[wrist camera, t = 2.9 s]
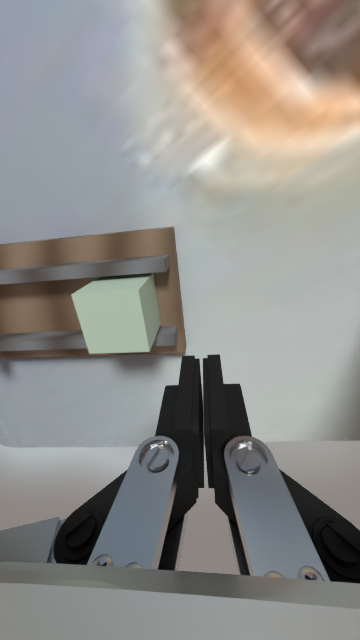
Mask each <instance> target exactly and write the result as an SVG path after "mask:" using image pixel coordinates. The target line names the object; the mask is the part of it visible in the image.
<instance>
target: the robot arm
mask: <svg viewBox="0 0 360 640" xmlns="http://www.w3.org/2000/svg"><path fill="white" fill-rule="evenodd" d="M203 403H204V436H203ZM204 437H205V449H206V461H207V474H208V485H209V488H214V490H215V503H216V504H217V505H218V506H219V507H220V509H221V510H222V511H223V512H224V513H225V514H226V517H227V523H228V528H229V533H230V538H231V542H232V547H233V552H234V556H235V561H236V566H237V571H238V575H231V574H217V573H202V572H187V571H178V570H179V564H180V558H181V552H182V547H183V541H184V535H185V529H186V523H187V516H188V511H189V510H190V509H191V507H192V506H193V505H194V504H195V503H196V498H198V488H204ZM0 640H360V531H359V530H358V529H357V528H356V527H355V526H354V525H353V524H352V523H350V522H349V521H348V520H346V519H345V518H344V517H342V516H341V515H340V514H338V513H337V512H336V511H334V510H333V509H332V508H330V507H329V506H328V505H326V504H325V503H324V502H322V501H321V500H320V499H318V498H317V497H316V496H314V495H313V494H312V493H310V492H309V491H308V490H306V489H305V488H304V487H302V486H301V485H300V484H298V483H297V482H296V481H294V480H293V479H292V478H290V477H289V476H288V475H286V474H285V473H284V472H282V471H281V470H280V469H279V468H278V466H277V464H276V462H275V460H274V457H273V455H272V453H271V452H270V450H269V449H268V447H267V446H266V445H265V444H264V443H263V442H262V441H260V440H258V439H256V438H254V437H252V435H251V430H250V426H249V422H248V417H247V413H246V408H245V404H244V399H243V395H242V391H241V386H240V384H223V377H222V369H221V361H220V355H208V358H203V399H202V386H201V374H200V361H199V359H195V356H182V362H181V370H180V378H179V385H172V386H166V387H165V391H164V396H163V400H162V405H161V410H160V415H159V420H158V425H157V430H156V435H155V437H151V438H149V439H147V440H145V441H144V442H143V443H142V444H141V445H140V446H139V447H138V449H137V450H136V452H135V454H134V457H133V459H132V461H131V464H130V466H129V468H128V470H126V471H125V472H124V473H123V474H121V475H120V476H119V477H118V478H116V479H115V480H114V481H113V482H111V483H110V484H109V485H107V486H106V487H105V488H104V489H102V490H101V491H100V492H98V493H97V494H96V495H95V496H93V497H92V498H91V499H89V500H88V501H87V502H86V503H84V504H83V505H82V506H80V507H79V508H78V509H77V510H75V511H74V512H73V513H72V514H71V515H70V516H69V517H68V518H67V519H63V520H60V518H59V517H56V518H52V519H48V520H43V521H39V522H36V523H31V524H27V525H22V526H18V527H14V528H10V529H5V530H1V531H0Z"/></svg>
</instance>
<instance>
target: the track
mask: <svg viewBox="0 0 360 640" xmlns="http://www.w3.org/2000/svg"><path fill="white" fill-rule="evenodd" d="M143 273H153V274H154V280H155V287H156V294H157V300H158V307H159V314H160V321H161V325H160V327H159V330H158V332H157V335H156V337H155V340H154V342H153V345H152V347H151V350H150V352H128V353H95V354H89V351H88V348H87V345H86V342H85V338H84V335H83V332H82V329H81V325H80V322H79V319H78V315H77V312H76V309H75V306H74V302H73V299H72V296H71V294H73V293H75V292H76V291H78V290H79V289H81V288H83V287H84V286H86V285H87V284H89V283H91V282H92V281H94V280H95V279H97V278H99V277H104V276H117V275H130V274H143ZM185 349H186V339H185V329H184V320H183V310H182V300H181V291H180V281H179V272H178V262H177V252H176V243H175V233H174V227H166V228H156V229H146V230H136V231H127V232H117V233H107V234H98V235H88V236H78V237H69V238H59V239H49V240H40V241H30V242H20V243H11V244H1V245H0V358H23V357H57V356H92V355H127V354H161V353H185Z"/></svg>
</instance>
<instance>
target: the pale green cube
mask: <svg viewBox="0 0 360 640" xmlns="http://www.w3.org/2000/svg"><path fill="white" fill-rule="evenodd" d="M71 296H72V299H73V302H74V306H75V309H76V312H77V315H78V319H79V322H80V325H81V329H82V332H83V335H84V338H85V342H86V345H87V348H88V351H89V354H95V353H128V352H150V350H151V347H152V345H153V342H154V340H155V337H156V335H157V332H158V330H159V327H160V325H161V321H160V314H159V307H158V300H157V294H156V287H155V280H154V274H153V273H143V274H130V275H117V276H104V277H99V278H97V279H95V280H94V281H92V282H91V283H89V284H87V285H86V286H84V287H83V288H81V289H79V290H78V291H76V292H75V293H73V294H71Z"/></svg>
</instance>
